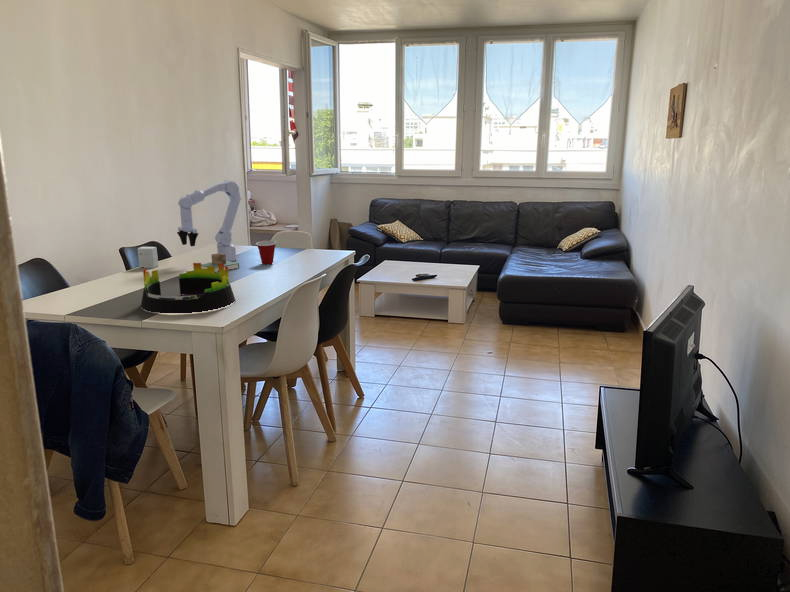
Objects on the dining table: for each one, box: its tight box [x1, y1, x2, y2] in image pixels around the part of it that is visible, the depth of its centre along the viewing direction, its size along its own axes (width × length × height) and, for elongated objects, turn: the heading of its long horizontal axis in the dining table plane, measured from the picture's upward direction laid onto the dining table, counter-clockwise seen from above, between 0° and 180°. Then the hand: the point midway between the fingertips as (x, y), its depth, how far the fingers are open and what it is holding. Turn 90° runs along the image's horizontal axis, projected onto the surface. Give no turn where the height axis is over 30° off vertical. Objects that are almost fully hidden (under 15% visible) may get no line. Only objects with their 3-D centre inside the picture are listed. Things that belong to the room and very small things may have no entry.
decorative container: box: [140, 262, 236, 313], centre depth 249 cm, size 37×37×15 cm
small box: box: [137, 246, 159, 269], centre depth 322 cm, size 8×6×10 cm
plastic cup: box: [255, 240, 277, 265], centre depth 333 cm, size 11×11×12 cm
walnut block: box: [210, 253, 226, 265], centre depth 319 cm, size 5×5×5 cm
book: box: [201, 261, 240, 273], centre depth 320 cm, size 16×12×3 cm
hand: (188, 245), depth 329 cm, fingers open, 7 cm apart
